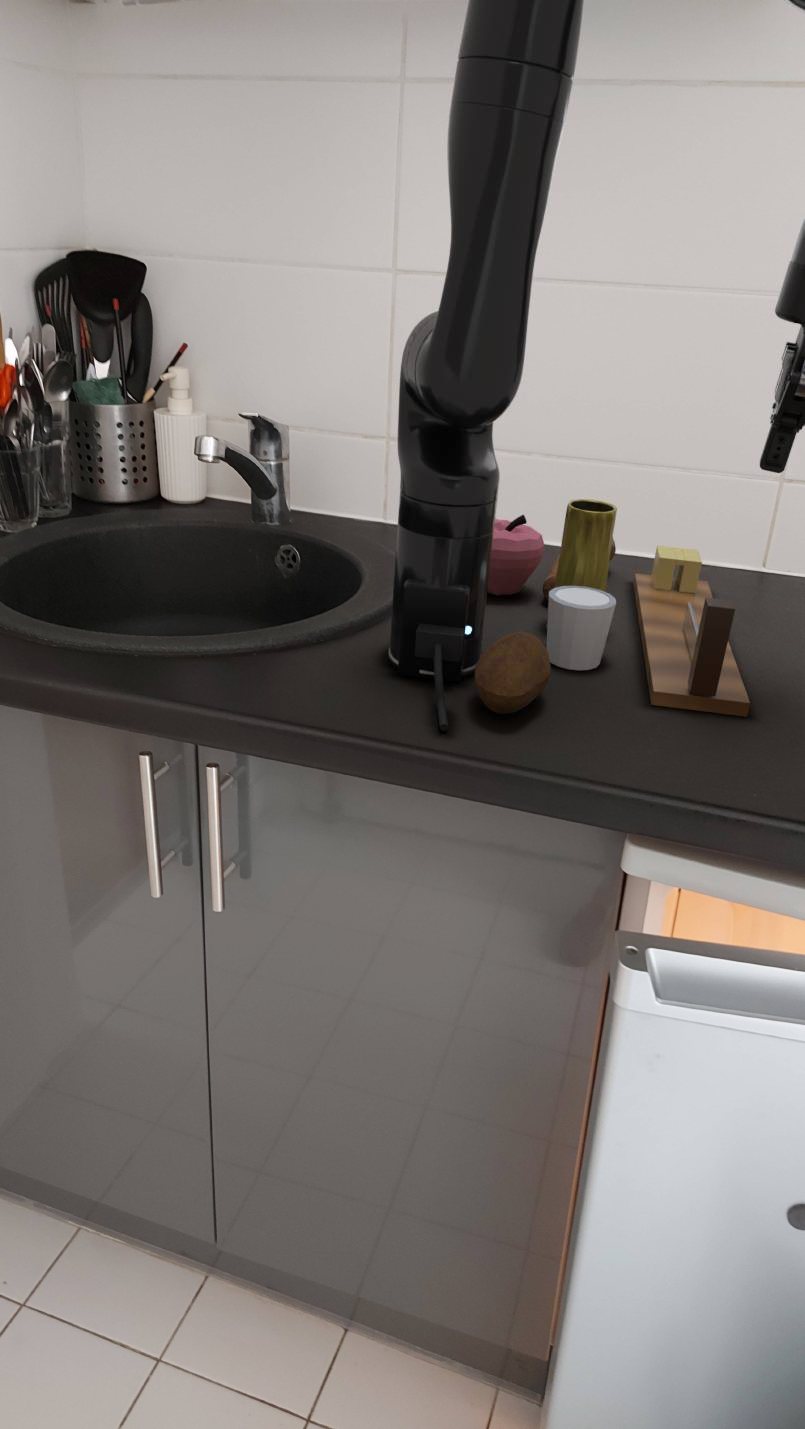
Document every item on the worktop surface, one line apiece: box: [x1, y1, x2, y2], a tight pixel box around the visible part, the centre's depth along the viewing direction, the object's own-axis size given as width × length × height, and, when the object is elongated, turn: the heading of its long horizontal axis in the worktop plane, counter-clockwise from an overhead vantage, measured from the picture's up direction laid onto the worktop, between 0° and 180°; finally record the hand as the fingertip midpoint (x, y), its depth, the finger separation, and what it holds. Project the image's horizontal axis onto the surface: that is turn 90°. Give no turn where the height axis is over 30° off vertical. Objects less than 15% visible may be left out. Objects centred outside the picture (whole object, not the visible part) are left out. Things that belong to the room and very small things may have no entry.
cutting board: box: [632, 572, 751, 718], centre depth 112 cm, size 36×9×2 cm, turn 171°
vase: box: [546, 498, 618, 629], centre depth 109 cm, size 6×6×14 cm
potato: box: [474, 630, 552, 715], centre depth 93 cm, size 7×12×7 cm, turn 164°
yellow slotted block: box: [650, 545, 703, 593], centre depth 124 cm, size 5×5×4 cm
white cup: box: [546, 586, 617, 671], centre depth 104 cm, size 7×7×7 cm
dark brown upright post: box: [683, 597, 736, 696], centre depth 101 cm, size 18×2×9 cm, turn 171°
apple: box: [487, 514, 545, 597], centre depth 120 cm, size 10×9×10 cm
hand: (770, 469), depth 92 cm, fingers closed
